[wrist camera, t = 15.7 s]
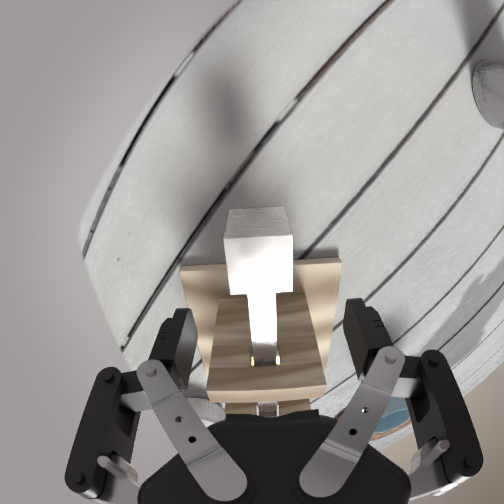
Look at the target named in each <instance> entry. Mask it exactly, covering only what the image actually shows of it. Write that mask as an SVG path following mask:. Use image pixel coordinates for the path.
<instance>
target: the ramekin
mask: <svg viewBox="0 0 504 504" xmlns="http://www.w3.org/2000/svg"><path fill="white" fill-rule="evenodd" d="M186 399H187V401H188V402H189V404H190V405H191V407H192V408H193V409H194V411H195V412H196V414H197V415H198V416H199V418H200V419H201V421H202V422H203V423H204V425H205V426H206V427H208V426H210V425H212V424H214V423H216V422H219V421H222V420H224V417H225V413H224V411H223V409H222V408H221V407H220V406H219V405H218V404H216V403H210V400H207V399H203V398H186Z"/></svg>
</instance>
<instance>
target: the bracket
mask: <svg viewBox="0 0 504 504" xmlns="http://www.w3.org/2000/svg"><path fill="white" fill-rule="evenodd" d="M341 265H342V262H341V260H340V258H339V257H334V258H318V259H301V260H293V276H292V291H290V292H276V354H277V356H279V360H280V364H277V366H262V367H254V366H251V358H253V348H252V337H251V327H250V316H249V305H248V294H236V295H230V287H229V280H228V272H227V264H212V265H192V266H181V269H180V271H179V272H180V277H181V281H182V285H183V289H184V294H185V298H186V302H187V306H188V308H190V309H191V310H192V313H193V317H194V321H195V324H196V328H197V333H198V339H197V343H198V347H199V350H200V354H201V357H202V361H203V364H204V368H205V371H206V374H207V377H208V380H207V388H206V392H207V395H208V397H209V400H210V403H225V417H224V420H226V414H253V415H256V406H258V402H272V401H277V405H279V416H282V415H285V414H289V413H292V412H295V411H305V410H311V408H310V401H309V398H318V397H324V393H325V389H326V385H327V384H326V380H325V375H324V374H325V369H326V364H327V359H328V354H329V348H330V343H331V337H332V331H333V325H334V318H335V312H336V305H337V298H338V290H339V282H340V274H341ZM269 418H274V417H269Z"/></svg>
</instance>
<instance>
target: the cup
mask: <svg viewBox="0 0 504 504" xmlns="http://www.w3.org/2000/svg"><path fill="white" fill-rule="evenodd" d="M363 381H364V380H361V382H363ZM409 419H410V414H409V411H408V407H407V404H406V400H405V397H391V398H390V400H389V402H388V404H387V407H386V409H385V411H384V413H383V415H382V417H381V419H380V421H379V423H378V425H377V427H376V429H375V431H374V433H380V432H385V431H388V430H391V429H394V428H396V427H398V426H400V425H402V424H403V423H405V422H406V421H407V420H409Z"/></svg>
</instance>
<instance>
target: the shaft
mask: <svg viewBox="0 0 504 504" xmlns="http://www.w3.org/2000/svg"><path fill="white" fill-rule="evenodd" d="M223 240H224V248H225V256H226V264H227V272H228V280H229V287H230V295H236V294H248V305H249V316H250V327H251V337H252V348H253V358H254V367H262V366H277V354H276V292H290V291H292V276H293V234H292V231H291V228H290V224H289V221H288V218H287V215H286V212H285V208H284V207H264V208H247V209H232V210H229V215H228V220H227V224H226V229H225V234H224V239H223ZM258 408H259V416H263V417H277V401H272V402H258Z"/></svg>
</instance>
